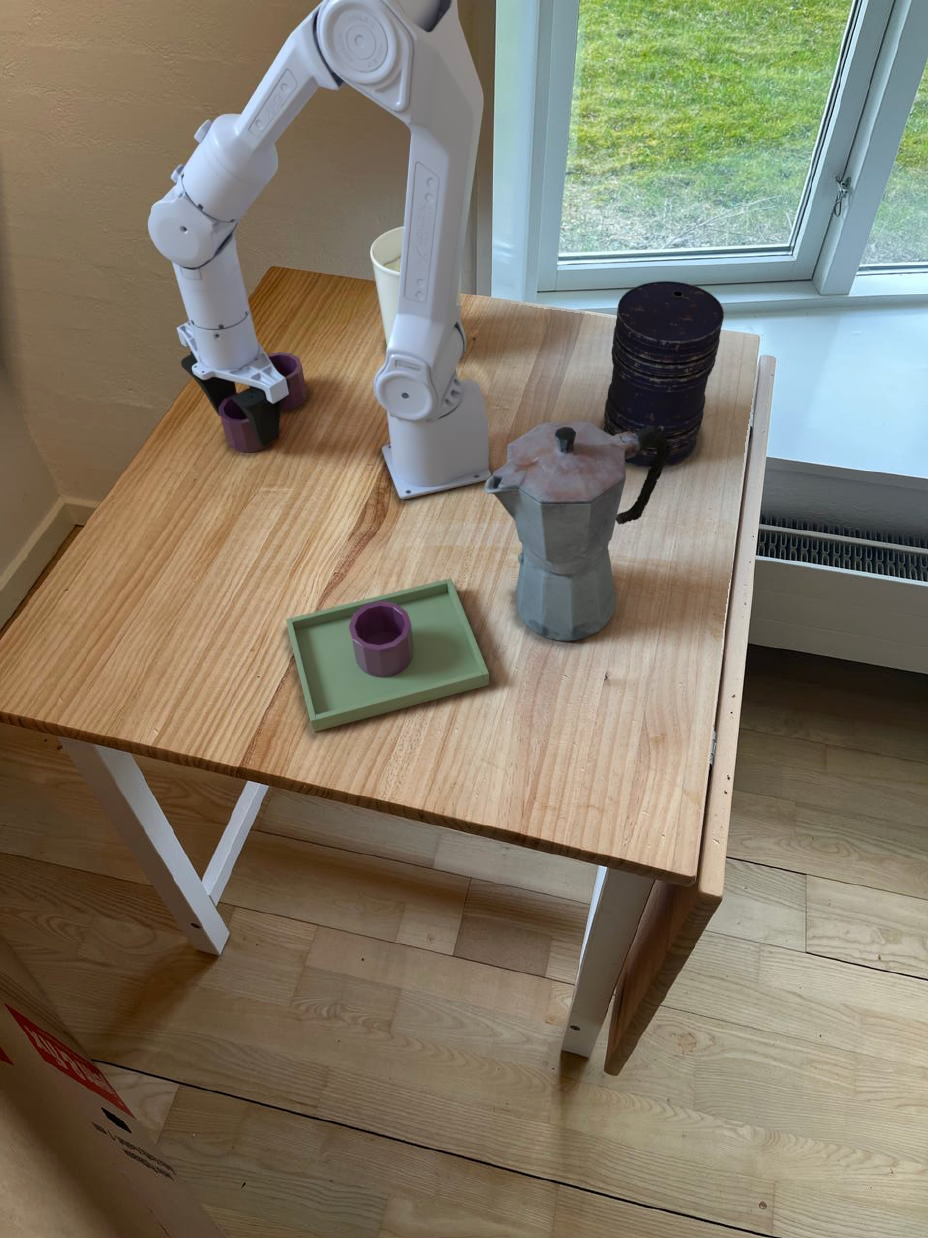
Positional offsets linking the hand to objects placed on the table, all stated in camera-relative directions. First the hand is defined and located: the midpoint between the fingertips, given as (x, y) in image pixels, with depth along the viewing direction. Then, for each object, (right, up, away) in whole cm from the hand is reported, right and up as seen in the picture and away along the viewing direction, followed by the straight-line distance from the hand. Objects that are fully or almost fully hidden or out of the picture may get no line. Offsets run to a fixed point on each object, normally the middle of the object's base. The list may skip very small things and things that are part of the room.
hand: (248, 426), depth 99 cm
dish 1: (0, -1, +1) cm, 1 cm away
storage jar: (+42, -1, 0) cm, 42 cm away
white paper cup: (+18, +11, +11) cm, 24 cm away
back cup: (+3, +4, +5) cm, 7 cm away
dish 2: (+16, -23, -18) cm, 33 cm away
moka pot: (+32, -19, -14) cm, 39 cm away
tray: (+16, -23, -17) cm, 33 cm away
